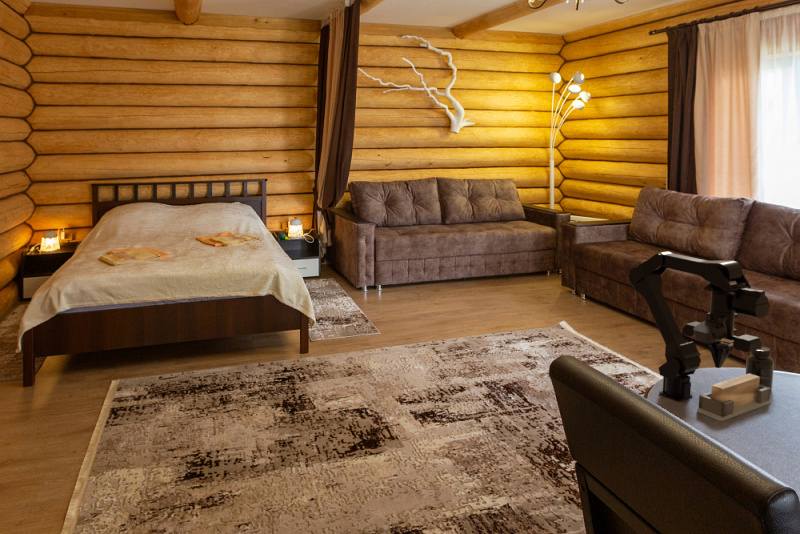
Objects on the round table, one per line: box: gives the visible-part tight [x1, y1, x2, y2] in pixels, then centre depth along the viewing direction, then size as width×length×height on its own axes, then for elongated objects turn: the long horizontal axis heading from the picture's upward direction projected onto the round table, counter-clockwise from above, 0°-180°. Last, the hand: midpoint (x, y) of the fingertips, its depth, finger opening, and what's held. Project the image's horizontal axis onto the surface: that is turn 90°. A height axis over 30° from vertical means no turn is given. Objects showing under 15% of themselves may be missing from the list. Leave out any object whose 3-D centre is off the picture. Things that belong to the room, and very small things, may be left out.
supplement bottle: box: [745, 346, 775, 392], centre depth 178 cm, size 7×7×12 cm
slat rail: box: [696, 385, 772, 422], centre depth 166 cm, size 7×21×4 cm, turn 119°
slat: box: [710, 373, 760, 408], centre depth 166 cm, size 3×16×6 cm, turn 119°
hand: (718, 367), depth 163 cm, fingers closed
